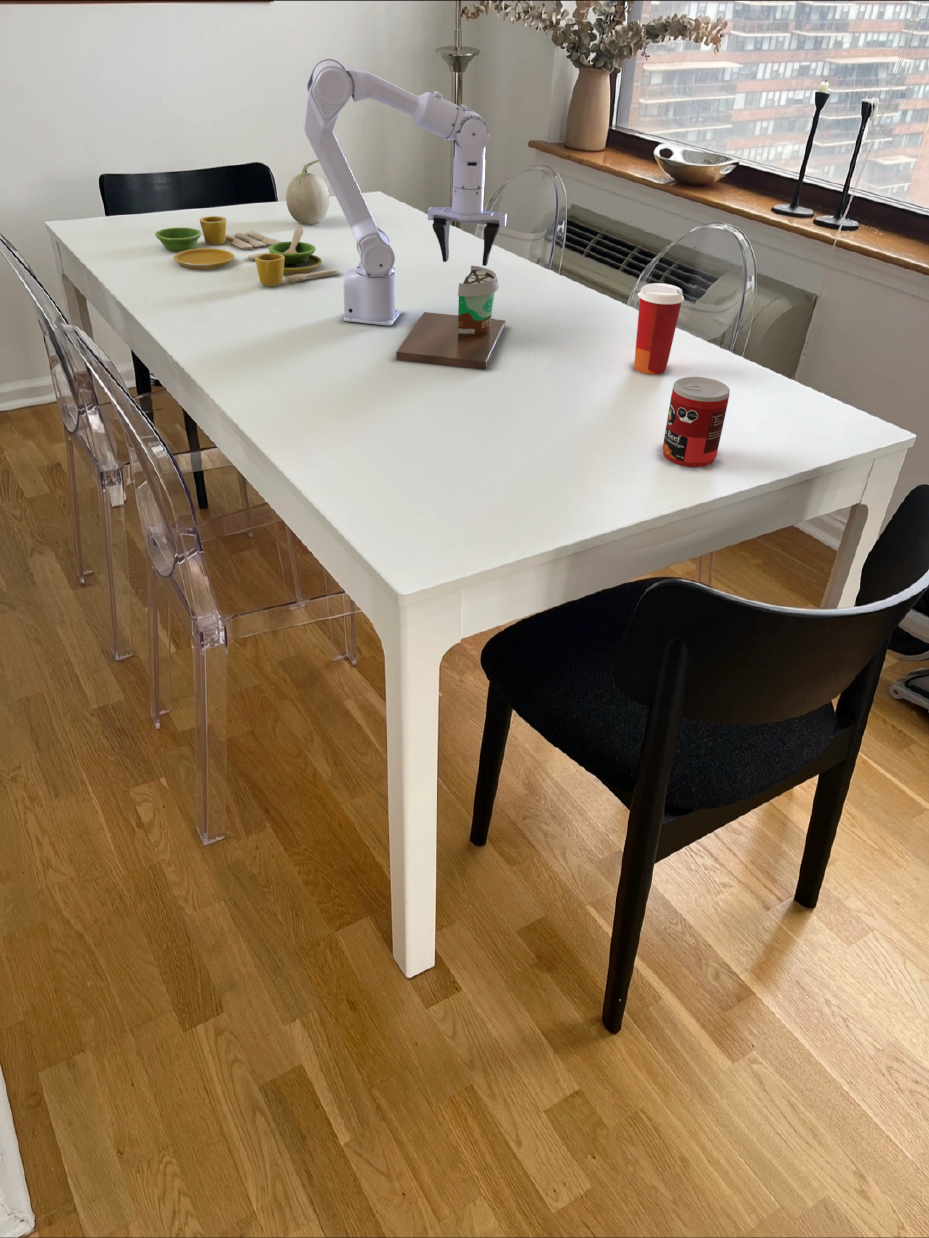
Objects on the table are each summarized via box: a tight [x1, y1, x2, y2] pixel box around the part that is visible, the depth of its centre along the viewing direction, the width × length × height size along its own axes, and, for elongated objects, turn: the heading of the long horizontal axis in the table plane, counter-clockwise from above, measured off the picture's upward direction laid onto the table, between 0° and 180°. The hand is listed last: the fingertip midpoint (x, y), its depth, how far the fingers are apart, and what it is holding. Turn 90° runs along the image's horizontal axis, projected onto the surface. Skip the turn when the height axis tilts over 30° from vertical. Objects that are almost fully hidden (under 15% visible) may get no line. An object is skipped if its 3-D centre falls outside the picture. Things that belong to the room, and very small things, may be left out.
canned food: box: [662, 376, 731, 468], centre depth 143 cm, size 8×8×11 cm
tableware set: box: [154, 215, 339, 287], centre depth 214 cm, size 41×28×6 cm
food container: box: [457, 265, 500, 338], centre depth 179 cm, size 12×6×10 cm, turn 169°
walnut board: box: [395, 311, 507, 371], centre depth 180 cm, size 16×22×2 cm
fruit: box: [285, 159, 330, 225], centre depth 239 cm, size 10×12×15 cm
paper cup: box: [633, 282, 685, 375], centre depth 170 cm, size 8×8×14 cm
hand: (465, 262), depth 186 cm, fingers open, 7 cm apart
